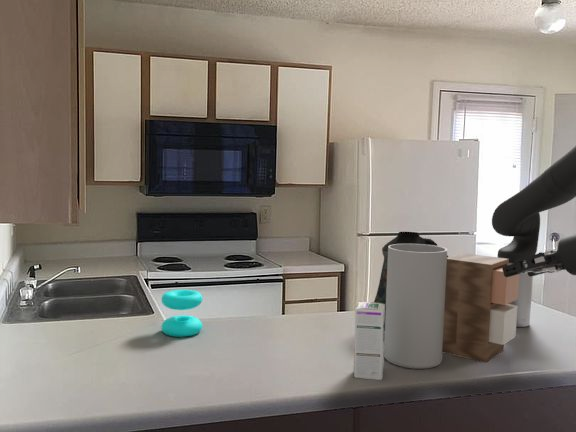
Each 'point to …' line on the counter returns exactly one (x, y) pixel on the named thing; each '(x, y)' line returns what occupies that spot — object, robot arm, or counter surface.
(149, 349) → the counter surface
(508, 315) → the light grey drawer
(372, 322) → the syrup box
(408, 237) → the beer stein
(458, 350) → the wooden drawer cabinet
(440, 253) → the cylinder vase
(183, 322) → the donuts
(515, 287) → the salmon pink block
